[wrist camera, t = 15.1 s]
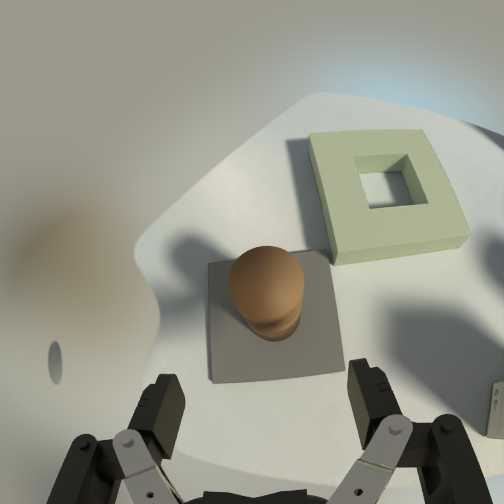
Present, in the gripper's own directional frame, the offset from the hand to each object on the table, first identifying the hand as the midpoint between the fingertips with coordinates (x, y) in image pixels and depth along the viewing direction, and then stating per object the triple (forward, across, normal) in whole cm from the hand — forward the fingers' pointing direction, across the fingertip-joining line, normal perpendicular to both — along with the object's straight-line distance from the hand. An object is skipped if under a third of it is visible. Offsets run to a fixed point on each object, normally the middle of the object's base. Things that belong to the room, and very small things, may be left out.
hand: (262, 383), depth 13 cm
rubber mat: (+12, 0, +4) cm, 13 cm away
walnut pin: (+12, 0, +4) cm, 13 cm away
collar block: (+20, -13, -4) cm, 24 cm away
